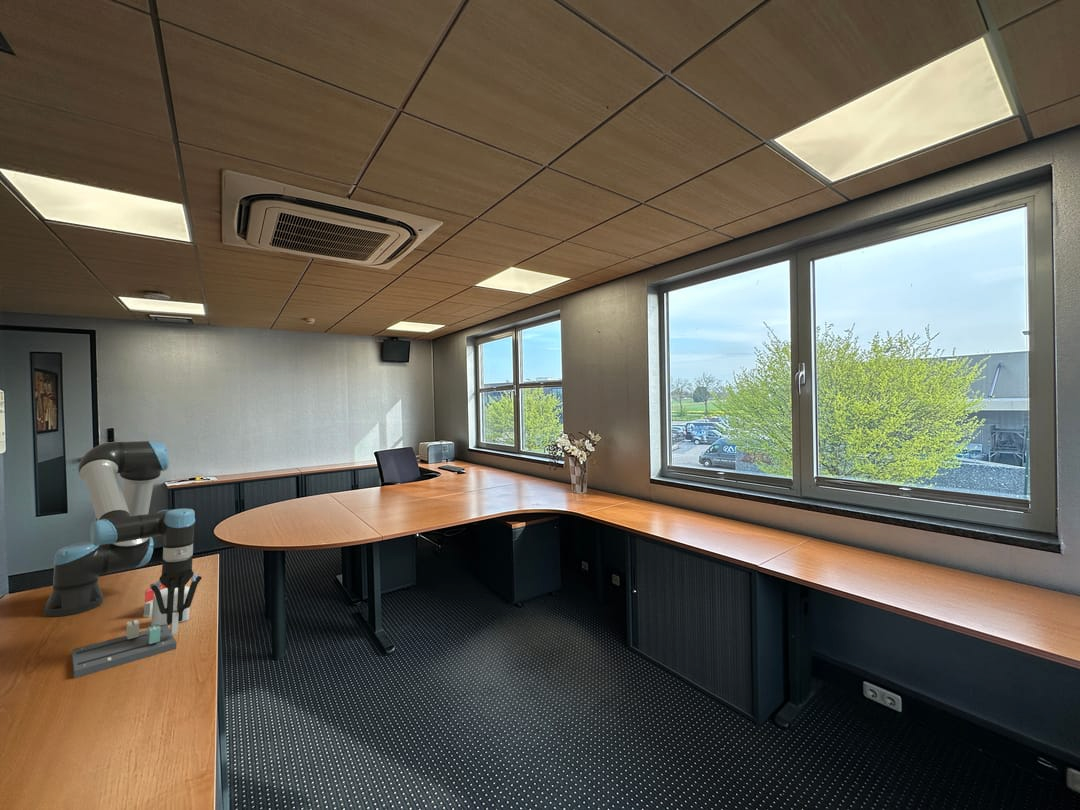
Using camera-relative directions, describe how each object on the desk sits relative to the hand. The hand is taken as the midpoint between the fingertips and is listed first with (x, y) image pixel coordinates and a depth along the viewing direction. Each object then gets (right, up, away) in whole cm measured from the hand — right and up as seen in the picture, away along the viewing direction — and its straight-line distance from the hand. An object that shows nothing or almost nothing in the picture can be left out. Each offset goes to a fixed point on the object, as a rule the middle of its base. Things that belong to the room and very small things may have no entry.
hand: (173, 632), depth 140 cm
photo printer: (-13, -4, +14) cm, 19 cm away
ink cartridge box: (-24, -4, +22) cm, 33 cm away
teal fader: (-3, -1, -4) cm, 5 cm away
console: (-10, -3, -6) cm, 12 cm away
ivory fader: (-12, -1, -1) cm, 12 cm away
